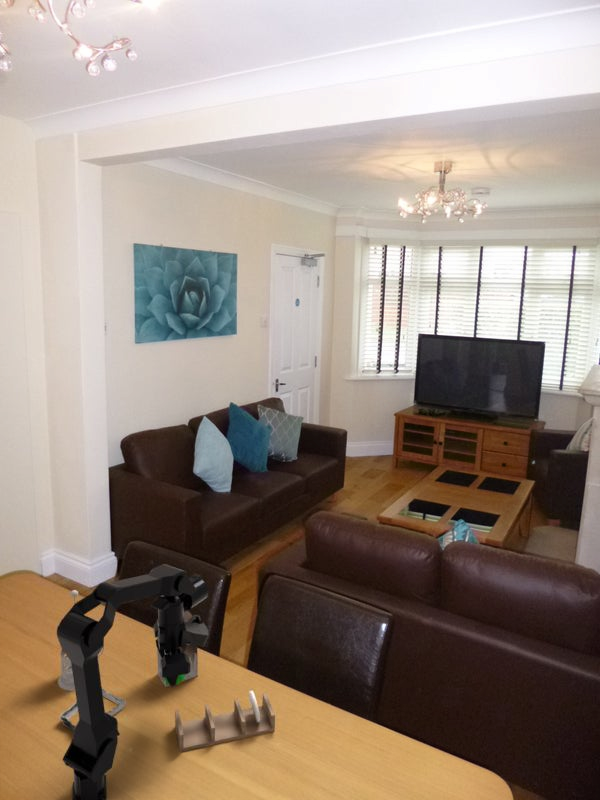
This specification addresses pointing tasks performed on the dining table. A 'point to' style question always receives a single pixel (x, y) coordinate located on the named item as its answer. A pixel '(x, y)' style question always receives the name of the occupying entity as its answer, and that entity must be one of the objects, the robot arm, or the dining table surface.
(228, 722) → the rack
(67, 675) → the french press
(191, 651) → the coffee box
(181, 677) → the polyhedron
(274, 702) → the dining table surface
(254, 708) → the saucer
